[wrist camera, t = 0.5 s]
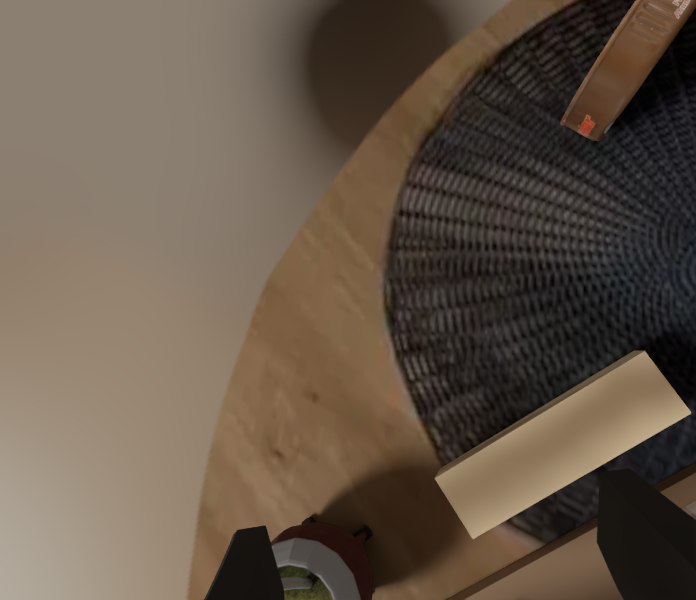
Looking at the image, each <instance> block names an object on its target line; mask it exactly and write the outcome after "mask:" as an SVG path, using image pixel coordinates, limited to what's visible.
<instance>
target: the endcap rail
mask: <svg viewBox="0 0 696 600" xmlns="http://www.w3.org/2000/svg"><path fill="white" fill-rule="evenodd" d="M653 487H654V488H655V489H657V490H658V491H659V492H660V493H662V494H663V495H664V496H666V497H667V498H668V499H669V500H671V501H672V502H673V503H675V504H676V505H677V506H678V507H680V508H681V509H682V510H684V511H685V512H686V513H688V514H689V515H690V516H691V517H693V518H694V519H695V520H696V463H694V464H692V465H690V466H688V467H687V468H685V469H683V470H681V471H679V472H677V473H676V474H674V475H672V476H670V477H668V478H667V479H665V480H663V481H661V482H659V483H657V484H656V485H654V486H653ZM597 525H598V517H596V518H594V519H592V520H590V521H589V522H587V523H585V524H583V525H581V526H579V527H578V528H576V529H574V530H572V531H570V532H569V533H567V534H565V535H563V536H561V537H560V538H558V539H556V540H554V541H552V542H550V543H549V544H547V545H545V546H543V547H541V548H540V549H538V550H536V551H534V552H532V553H531V554H529V555H527V556H525V557H523V558H521V559H520V560H518V561H516V562H514V563H512V564H511V565H509V566H507V567H505V568H503V569H501V570H500V571H498V572H496V573H494V574H492V575H491V576H489V577H487V578H485V579H483V580H482V581H480V582H478V583H476V584H474V585H472V586H471V587H469V588H467V589H465V590H463V591H462V592H460V593H458V594H456V595H454V596H452V597H451V598H449V599H447V600H624V599H623V598H622V596H621V594H620V592H619V591H618V589H617V586H616V584H615V582H614V580H613V578H612V576H611V573H610V571H609V569H608V567H607V565H606V562H605V560H604V558H603V555H602V553H601V551H600V549H599V546H598V544H597Z"/></svg>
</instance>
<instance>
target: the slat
mask: <svg viewBox="0 0 696 600" xmlns="http://www.w3.org/2000/svg"><path fill="white" fill-rule="evenodd" d="M689 414H691V412H690V410H689V409H688V408H687V406H686V405H685V404H684V402H683V401H682V400H681V398H680V397H679V396H678V394H677V393H676V392H675V390H674V389H673V388H672V386H671V385H670V384H669V382H668V381H667V380H666V378H665V377H664V376H663V374H662V373H661V372H660V371H659V369H658V368H657V367H656V365H655V364H654V363H653V361H652V360H651V359H650V357H649V356H648V355H647V353H646V352H645V351H633V352H631V353H629V354H628V355H626V356H624V357H623V358H621V359H619V360H618V361H616V362H614V363H613V364H611V365H610V366H608V367H606V368H605V369H603V370H601V371H600V372H598V373H596V374H595V375H593V376H591V377H590V378H588V379H587V380H585V381H583V382H582V383H580V384H578V385H577V386H575V387H573V388H572V389H570V390H568V391H567V392H565V393H564V394H562V395H560V396H559V397H557V398H555V399H554V400H552V401H550V402H549V403H547V404H545V405H544V406H542V407H541V408H539V409H537V410H536V411H534V412H532V413H531V414H529V415H527V416H526V417H524V418H522V419H521V420H519V421H517V422H516V423H514V424H513V425H511V426H509V427H508V428H506V429H504V430H503V431H501V432H499V433H498V434H496V435H494V436H493V437H491V438H490V439H488V440H486V441H485V442H483V443H481V444H480V445H478V446H476V447H475V448H473V449H471V450H470V451H468V452H467V453H465V454H463V455H462V456H460V457H458V458H457V459H455V460H453V461H452V462H450V463H448V464H447V465H445V466H444V467H442V468H440V469H439V471H438V473H437V475H436V476H435V480H436V481H437V483H438V485H439V486H440V488H441V489H442V491H443V493H444V494H445V496H446V497H447V499H448V501H449V502H450V504H451V505H452V507H453V509H454V510H455V512H456V513H457V515H458V517H459V518H460V520H461V521H462V523H463V524H464V526H465V528H466V529H467V531H468V532H469V534H470V536H471V537H472V539H474V538H476V537H478V536H479V535H481V534H483V533H484V532H486V531H488V530H490V529H491V528H493V527H495V526H497V525H498V524H500V523H502V522H504V521H505V520H507V519H509V518H511V517H512V516H514V515H516V514H517V513H519V512H521V511H523V510H524V509H526V508H528V507H530V506H531V505H533V504H535V503H537V502H538V501H540V500H542V499H544V498H545V497H547V496H549V495H550V494H552V493H554V492H556V491H557V490H559V489H561V488H563V487H564V486H566V485H568V484H570V483H571V482H573V481H575V480H577V479H578V478H580V477H582V476H583V475H585V474H587V473H589V472H590V471H592V470H594V469H596V468H597V467H599V466H601V465H603V464H604V463H606V462H608V461H610V460H611V459H613V458H615V457H616V456H618V455H620V454H622V453H623V452H625V451H627V450H629V449H630V448H632V447H634V446H636V445H637V444H639V443H641V442H643V441H644V440H646V439H648V438H649V437H651V436H653V435H655V434H656V433H658V432H660V431H662V430H663V429H665V428H667V427H669V426H670V425H672V424H674V423H676V422H677V421H679V420H681V419H682V418H684V417H686V416H688V415H689Z"/></svg>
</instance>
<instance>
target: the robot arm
mask: <svg viewBox="0 0 696 600" xmlns="http://www.w3.org/2000/svg"><path fill="white" fill-rule="evenodd" d="M597 544H598V546H599V549H600V551H601V553H602V555H603V558H604V560H605V562H606V565H607V567H608V569H609V571H610V573H611V576H612V578H613V580H614V582H615V584H616V586H617V589H618V591H619V592H620V594H621V596H622V598H623V599H624V600H696V520H695V519H694V518H693V517H691V516H690V515H689V514H688V513H686V512H685V511H684V510H682V509H681V508H680V507H678V506H677V505H676V504H675V503H673V502H672V501H671V500H669V499H668V498H667V497H666V496H664V495H663V494H662V493H660V492H659V491H658V490H657V489H655V488H654V487H653V486H651V485H650V484H649V483H648V482H646V481H645V480H644V479H642V478H641V477H640V476H639V475H637V474H636V473H635V472H633V471H632V470H631V469H629V468H627V469H621V470H614V471H608V472H602V473H600V488H599V506H598V525H597ZM204 600H285V595H284V587H283V584H282V581H281V577H280V574H279V570H278V567H277V563H276V560H275V556H274V553H273V549H272V546H271V543H270V539H269V536H268V532H267V529H266V526H259V527H253V528H247V529H240V530H237V531H236V532H235V534H234V535H233V537H232V540H231V542H230V545H229V547H228V549H227V552H226V554H225V556H224V559H223V561H222V563H221V565H220V567H219V570H218V572H217V574H216V576H215V578H214V580H213V582H212V585H211V587H210V589H209V591H208V593H207V595H206V597H205V599H204Z"/></svg>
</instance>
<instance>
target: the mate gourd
mask: <svg viewBox="0 0 696 600" xmlns="http://www.w3.org/2000/svg"><path fill="white" fill-rule="evenodd" d="M371 536H372V531H371V529H370V528H369V527H368V526H367V525H364V526H363V527H362V528H360V529H359V530H358V531H357V532H355V533H354V534H353V535H351V534H349V533H348V532H346V531H344V530H342V529H340V528H338V527H336V526H334V525H329V524H322V523H317V522H316V521H315V520H314V518H313V517H309V518H307V519H305V520H304V521H303V522H302V525H299V526H293V527H290V528H288V529H286V530H284V531H283V532H282V533H281V534H280V535H278V536H277V537H276V538H275V539H274V540H273V541H272V542H270V543H271V546H272V549H273V553H274V556H275V560H276V563H277V567H278V570H279V574H280V577H281V581H282V584H283V587H284V595H285V600H372V588H373V577H372V572H371V569H370V565H369V561H368V557H367V555H366V552H365V550H364V547H363V546H364V543H365V542H366V541H367V540H368V539H369V538H370V537H371Z"/></svg>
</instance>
